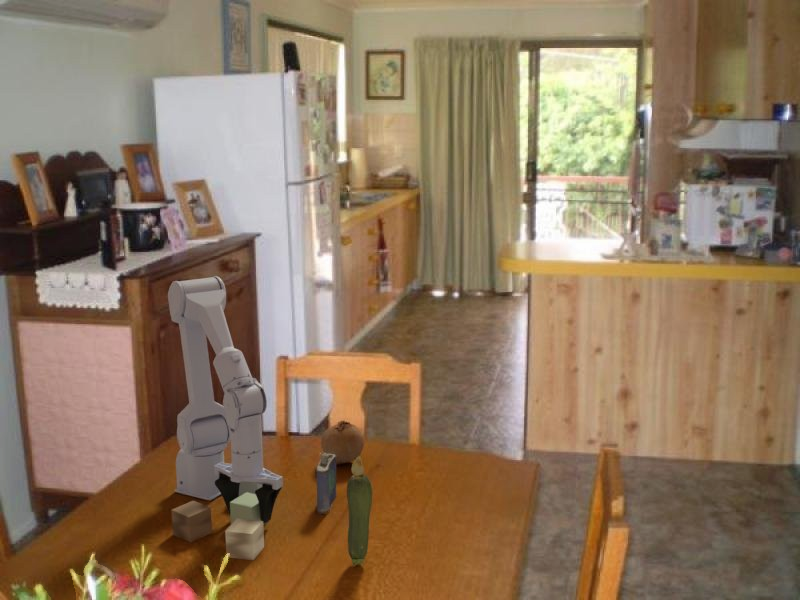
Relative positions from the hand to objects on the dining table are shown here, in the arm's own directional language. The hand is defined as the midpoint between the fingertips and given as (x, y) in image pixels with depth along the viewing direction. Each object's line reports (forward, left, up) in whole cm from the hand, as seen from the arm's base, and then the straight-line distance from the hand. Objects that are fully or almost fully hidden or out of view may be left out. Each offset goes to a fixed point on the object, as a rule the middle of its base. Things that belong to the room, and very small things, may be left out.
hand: (249, 516), depth 167 cm
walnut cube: (-7, -8, -2) cm, 11 cm away
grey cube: (-7, +9, -2) cm, 12 cm away
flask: (+8, +14, -2) cm, 16 cm away
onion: (0, +33, -2) cm, 33 cm away
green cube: (0, 0, -2) cm, 2 cm away
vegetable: (+26, -3, -2) cm, 26 cm away
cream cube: (+6, -9, -2) cm, 11 cm away
